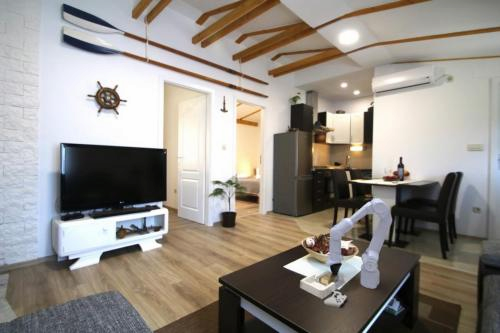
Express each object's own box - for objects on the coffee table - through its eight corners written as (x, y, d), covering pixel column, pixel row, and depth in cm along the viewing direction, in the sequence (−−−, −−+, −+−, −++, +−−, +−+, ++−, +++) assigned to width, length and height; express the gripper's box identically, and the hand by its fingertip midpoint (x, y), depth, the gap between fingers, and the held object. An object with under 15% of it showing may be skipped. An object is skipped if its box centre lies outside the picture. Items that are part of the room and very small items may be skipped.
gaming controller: (331, 291, 109) (342, 285, 105) (340, 304, 106) (352, 298, 103) (321, 302, 100) (333, 296, 97) (331, 317, 97) (343, 310, 94)
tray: (313, 282, 119) (313, 273, 119) (334, 292, 110) (335, 283, 109) (300, 289, 112) (300, 280, 111) (321, 301, 102) (322, 291, 102)
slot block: (325, 275, 126) (325, 269, 126) (346, 284, 117) (346, 278, 117) (313, 281, 119) (313, 275, 119) (335, 292, 110) (335, 285, 110)
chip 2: (330, 277, 122) (330, 272, 122) (337, 280, 119) (337, 275, 118) (325, 279, 119) (325, 275, 119) (333, 283, 116) (333, 278, 116)
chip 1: (325, 280, 119) (325, 275, 119) (332, 283, 116) (332, 278, 116) (321, 282, 116) (321, 277, 116) (328, 286, 113) (328, 281, 113)
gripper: (335, 245, 128) (334, 269, 128) (320, 251, 119) (320, 277, 119) (347, 249, 123) (347, 274, 123) (333, 256, 113) (332, 283, 114)
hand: (334, 276), depth 121 cm, fingers closed
